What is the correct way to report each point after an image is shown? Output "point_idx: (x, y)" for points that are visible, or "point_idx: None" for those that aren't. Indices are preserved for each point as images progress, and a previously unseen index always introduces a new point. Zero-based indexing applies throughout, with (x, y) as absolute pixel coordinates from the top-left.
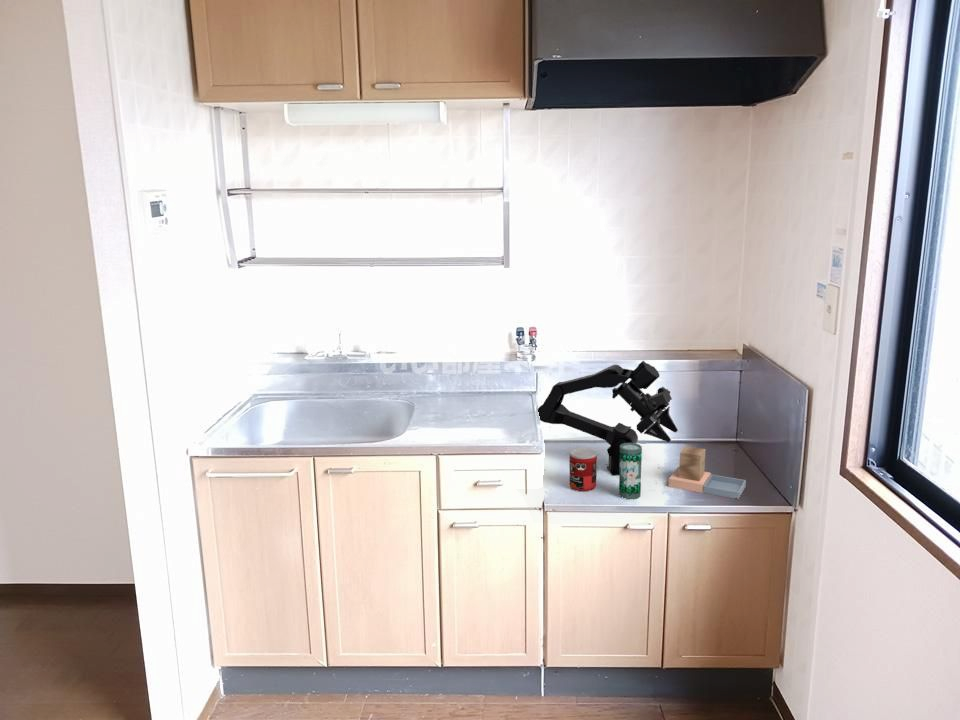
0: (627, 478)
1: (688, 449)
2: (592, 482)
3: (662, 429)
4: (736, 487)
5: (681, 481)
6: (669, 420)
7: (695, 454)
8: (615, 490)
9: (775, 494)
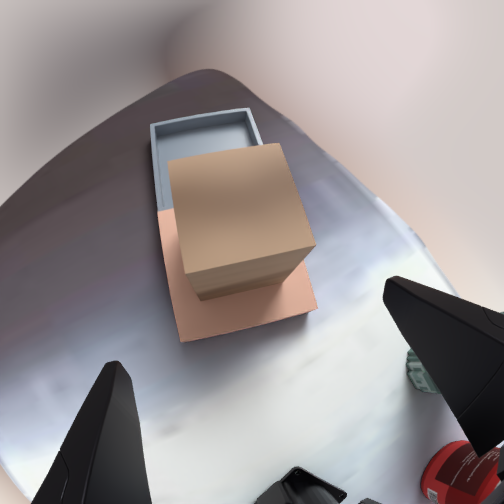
0: None
1: (232, 228)
2: (468, 443)
3: (493, 321)
4: (182, 143)
5: (303, 259)
6: (100, 478)
7: (280, 166)
8: (427, 408)
9: (166, 85)
